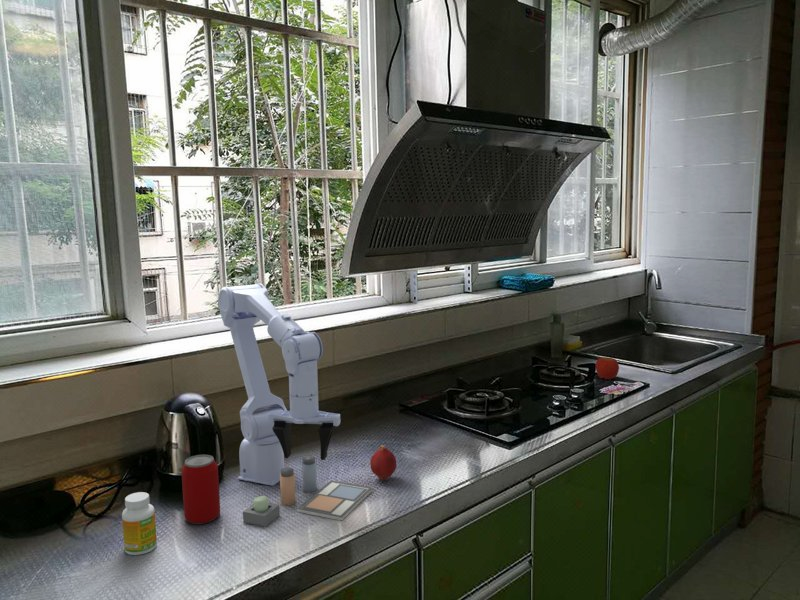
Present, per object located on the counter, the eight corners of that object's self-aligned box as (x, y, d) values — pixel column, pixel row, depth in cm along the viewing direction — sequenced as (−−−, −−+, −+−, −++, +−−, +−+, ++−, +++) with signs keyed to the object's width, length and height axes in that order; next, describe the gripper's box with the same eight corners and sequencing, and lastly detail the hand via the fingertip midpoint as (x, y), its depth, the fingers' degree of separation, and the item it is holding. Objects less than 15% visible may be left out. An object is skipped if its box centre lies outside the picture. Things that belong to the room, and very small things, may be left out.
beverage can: (224, 509, 127) (221, 452, 126) (215, 526, 121) (212, 466, 119) (190, 510, 127) (186, 453, 125) (180, 527, 120) (176, 467, 119)
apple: (607, 382, 215) (607, 360, 214) (590, 377, 222) (590, 355, 221) (623, 379, 219) (624, 357, 218) (605, 374, 226) (606, 353, 225)
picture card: (297, 511, 126) (297, 508, 126) (331, 483, 139) (331, 480, 139) (341, 520, 122) (341, 517, 122) (372, 490, 135) (372, 487, 135)
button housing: (243, 522, 122) (242, 511, 122) (258, 510, 127) (258, 500, 126) (265, 526, 120) (264, 516, 120) (279, 515, 125) (279, 504, 124)
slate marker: (300, 490, 136) (299, 459, 135) (307, 484, 138) (306, 454, 137) (312, 492, 134) (311, 461, 133) (319, 487, 137) (318, 456, 136)
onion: (382, 472, 145) (381, 438, 143) (402, 478, 141) (401, 444, 140) (365, 480, 140) (364, 446, 139) (385, 487, 136) (384, 452, 135)
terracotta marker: (278, 503, 130) (276, 471, 129) (286, 497, 132) (284, 465, 131) (290, 506, 128) (289, 473, 127) (298, 500, 131) (297, 468, 130)
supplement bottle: (143, 558, 110) (139, 505, 109) (117, 553, 111) (113, 501, 110) (163, 542, 115) (159, 491, 114) (138, 538, 116) (134, 488, 115)
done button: (251, 516, 123) (250, 501, 122) (259, 510, 125) (258, 495, 125) (263, 519, 121) (262, 503, 121) (271, 512, 124) (270, 497, 124)
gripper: (262, 397, 125) (264, 463, 127) (333, 400, 122) (335, 466, 124) (274, 387, 131) (276, 449, 133) (342, 389, 129) (343, 453, 131)
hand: (305, 457), depth 129 cm, fingers open, 7 cm apart
